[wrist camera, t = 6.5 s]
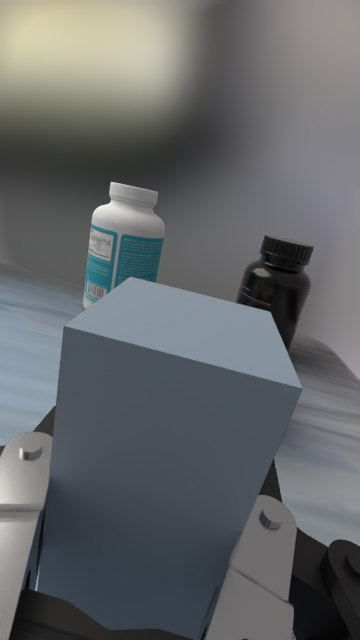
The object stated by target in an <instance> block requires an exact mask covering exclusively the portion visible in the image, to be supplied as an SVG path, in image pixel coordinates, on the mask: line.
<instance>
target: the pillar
mask: <svg viewBox="0 0 360 640" xmlns="http://www.w3.org/2000/svg"><path fill="white" fill-rule="evenodd" d="M302 389H303V388H302V386H301V383H300V381H299V379H298V376H297V374H296V371H295V369H294V367H293V364H292V362H291V360H290V357H289V355H288V353H287V350H286V348H285V346H284V343H283V341H282V338H281V336H280V334H279V331H278V329H277V327H276V324H275V322H274V320H273V317H272V315H271V313H270V312H269V311H265V310H261V309H257V308H253V307H249V306H245V305H241V304H237V303H233V302H229V301H225V300H221V299H217V298H213V297H209V296H205V295H201V294H198V293H193V292H190V291H186V290H182V289H177V288H174V287H170V286H166V285H162V284H157V283H154V282H150V281H146V280H142V279H138V278H134V277H129V278H128V279H127V280H125V281H124V282H122V283H121V284H120V285H118V286H117V287H116V288H114V289H113V290H112V291H110V292H109V293H108V294H106V295H105V296H104V297H102V298H101V299H99V300H98V301H97V302H95V303H94V304H93V305H91V306H90V307H89V308H87V309H86V310H85V311H83V312H82V313H81V314H79V315H78V316H76V317H75V318H74V319H72V320H71V321H70V322H68V323H67V324H66V325H64V330H63V340H62V350H61V360H60V370H59V380H58V390H57V400H56V410H55V420H54V430H53V440H52V450H51V460H50V470H49V477H51V478H50V488H49V494H48V498H47V503H46V510H45V520H44V530H43V535H45V537H44V546H43V552H42V556H41V561H40V570H39V580H38V590H37V592H40V593H44V594H47V595H50V596H53V597H57V598H60V599H63V600H66V601H69V602H70V603H71V604H73V605H74V606H76V607H77V608H78V609H80V610H81V611H83V612H84V613H85V614H87V615H88V616H89V617H91V618H92V619H94V620H95V621H96V622H98V623H99V624H101V625H102V626H103V627H105V628H107V629H110V630H126V629H161V630H164V631H168V632H171V633H174V634H177V635H181V636H184V637H187V638H191V639H194V640H197V637H198V634H199V632H200V629H201V626H202V623H203V620H204V617H205V614H206V611H207V608H208V605H209V602H210V599H211V596H212V594H213V591H214V589H215V587H216V586H217V587H219V585H220V582H221V579H222V576H223V573H224V570H225V567H226V564H227V561H228V558H229V555H230V552H231V548H232V545H233V543H234V540H235V538H236V536H237V533H238V531H240V532H243V530H244V528H245V526H246V523H247V521H248V518H249V516H250V514H251V511H252V509H253V506H254V504H255V502H256V499H257V497H258V494H259V492H260V490H261V487H262V485H263V482H264V480H265V478H266V475H267V473H268V470H269V468H270V466H271V463H272V461H273V459H274V456H275V454H276V451H277V449H278V447H279V444H280V442H281V439H282V437H283V435H284V432H285V430H286V427H287V425H288V423H289V420H290V418H291V415H292V413H293V411H294V408H295V406H296V403H297V401H298V399H299V396H300V394H301V392H302Z"/></svg>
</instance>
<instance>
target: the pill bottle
mask: <svg viewBox="0 0 360 640" xmlns="http://www.w3.org/2000/svg"><path fill="white" fill-rule="evenodd" d="M109 194H110V197H111V202H110V203H109V204H107V205H102V206H100V207H98V208H97V209H96V210H95V211H94V213H93V216H92V224H91V232H90V243H89V252H88V260H87V270H86V279H85V289H84V299H83V305H84V308H85V310H86V309H87V308H89V307H90V306H91V305H93V304H94V303H95V302H97V301H98V300H99V299H101V298H102V297H104V296H105V295H106V294H108V293H109V292H110V291H112V290H113V289H114V288H116V287H117V286H118V285H120V284H121V283H122V282H124V281H125V280H127V279H128V278H129V277H134V278H138V279H142V280H146V281H150V282H154V283H155V282H156V276H157V270H158V265H159V260H160V254H161V249H162V244H163V238H164V232H165V226H164V223H163V221H162V220H161V219H160V218H159V217H158V216H157V215H155V214H154V213H153V207H154V206H155V204H156V203H157V196H158V192H155V191H151V190H146V189H142V188H137V187H132V186H128V185H123V184H119V183H114V182H111V185H110V193H109Z"/></svg>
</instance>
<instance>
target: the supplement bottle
mask: <svg viewBox="0 0 360 640" xmlns="http://www.w3.org/2000/svg"><path fill="white" fill-rule="evenodd" d="M312 251H313V246H311V245H308V244H305V243H302V242H298V241H294V240H289V239H285V238H280V237H276V236H269V235H265V237H264V240H263V244H262V247H261V248H260V252H259V253H260V254H261V257H260V259H259V260H256V261H253V262H251V263H250V264H248V265H247V267H246V268H245V271H244V274H243V277H242V281H241V284H240V288H239V292H238V295H237V299H236V302H235V303H237V304H241V305H245V306H249V307H253V308H257V309H261V310H265V311H269V312H270V313H271V315H272V317H273V320H274V322H275V324H276V327H277V329H278V331H279V334H280V336H281V338H282V341H283V343H284V346H285V348H286V350H287V353H288V350H289V347H290V345H291V342H292V339H293V336H294V334H295V331H296V328H297V325H298V322H299V320H300V317H301V314H302V312H303V309H304V306H305V303H306V301H307V298H308V295H309V292H310V289H311V279H310V277H309V276H308V274H307V273H306V272H305V271H304V268H305V265H309V262H310V257H311V254H312Z"/></svg>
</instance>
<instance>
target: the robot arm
mask: <svg viewBox="0 0 360 640" xmlns="http://www.w3.org/2000/svg"><path fill="white" fill-rule="evenodd" d="M55 410H56V406H54V407H53V408H52V410H51V411H50V412H49V413H48V414H47V415H46V417H45V418H44V419H43V420H42V421H41V423H40V424H39V425H38V426H37V427H36V428H35V430H34V431H33V432H28V433H23V434H21V435H18V436H16V437H14V438H13V439H12V440H10V441H9V442H8V443H7V445H5V446H0V640H194V639H191V638H187V637H184V636H181V635H177V634H174V633H171V632H168V631H164V630H161V629H126V630H110V629H107V628H105V627H103V626H102V625H101V624H99V623H98V622H96V621H95V620H94V619H92V618H91V617H89V616H88V615H87V614H85V613H84V612H83V611H81V610H80V609H78V608H77V607H76V606H74V605H73V604H71V603H70V602H69V601H66V600H63V599H60V598H57V597H53V596H50V595H47V594H44V593H40V592H37V591H35V586H36V580H37V576H38V571H39V566H40V561H41V556H42V552H43V546H44V537H45V535H43V530H44V520H45V510H46V503H47V498H48V494H49V488H50V478H51V477H49V470H50V460H51V450H52V440H53V430H54V420H55ZM292 628H293V631H294V634H295V637H296V640H360V546H358V545H356V544H354V543H352V542H350V541H347V540H335V541H333V542H332V543H331V544H330V545H329V547H327V546H325V545H324V544H322V543H320V542H318V541H317V540H315V539H313V538H312V537H310V536H308V535H307V534H305V533H304V532H302V531H301V530H300V529H299V528H298V527H297V526H296V522H295V519H294V517H293V515H292V514H291V512H290V511H289V510H288V508H287V507H286V506H285V505H284V504H282V499H281V493H280V488H279V483H278V477H277V472H276V467H275V462H274V459H273V461H272V463H271V466H270V468H269V470H268V473H267V475H266V478H265V480H264V482H263V485H262V487H261V490H260V492H259V494H258V497H257V499H256V502H255V504H254V506H253V509H252V511H251V514H250V516H249V518H248V521H247V523H246V526H245V528H244V530H243V532H240V531H238V533H237V536H236V538H235V540H234V543H233V545H232V548H231V552H230V555H229V558H228V561H227V564H226V567H225V570H224V573H223V576H222V579H221V582H220V585H219V587H217V586H216V587H215V589H214V591H213V594H212V596H211V599H210V602H209V605H208V608H207V611H206V614H205V617H204V620H203V623H202V626H201V629H200V632H199V634H198V637H197V640H291V637H292Z"/></svg>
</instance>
